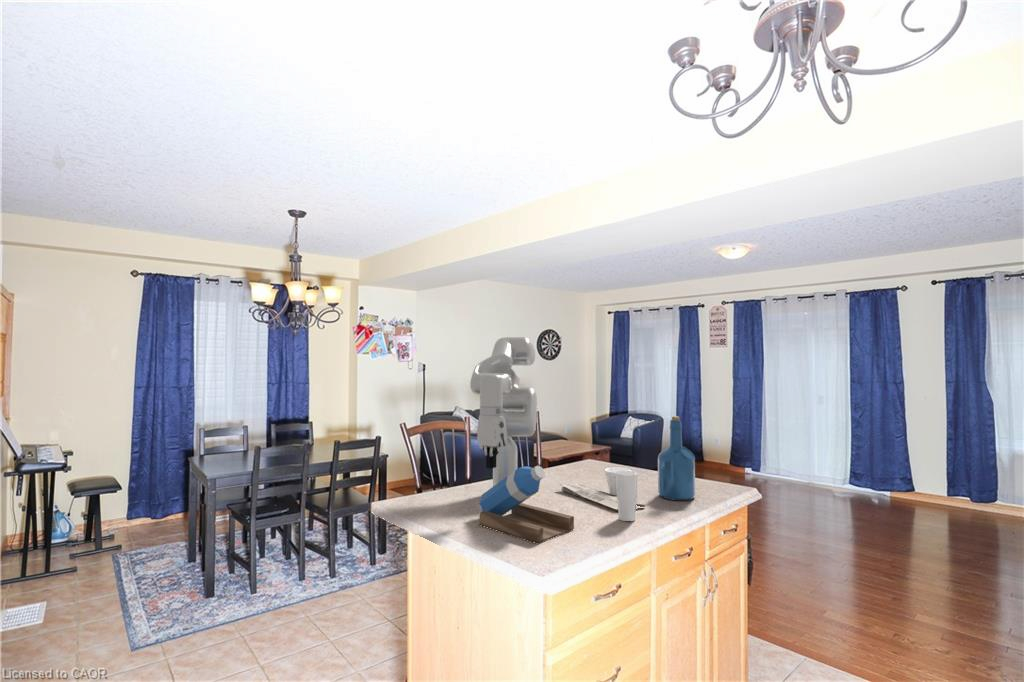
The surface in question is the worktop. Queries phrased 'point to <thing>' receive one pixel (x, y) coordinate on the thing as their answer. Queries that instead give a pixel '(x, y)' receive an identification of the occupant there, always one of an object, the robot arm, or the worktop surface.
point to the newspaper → (593, 495)
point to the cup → (613, 478)
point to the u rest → (529, 523)
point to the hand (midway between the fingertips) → (491, 467)
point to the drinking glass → (626, 494)
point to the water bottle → (512, 490)
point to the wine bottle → (676, 467)
